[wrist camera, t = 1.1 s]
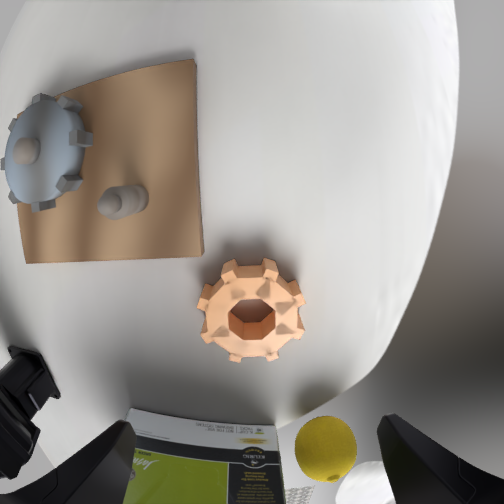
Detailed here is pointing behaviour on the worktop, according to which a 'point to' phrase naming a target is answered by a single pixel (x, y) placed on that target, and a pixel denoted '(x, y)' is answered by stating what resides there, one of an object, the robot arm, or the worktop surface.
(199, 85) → the worktop surface
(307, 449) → the lemon
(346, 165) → the worktop surface
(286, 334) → the gear
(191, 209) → the gear board
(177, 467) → the tea box
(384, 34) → the worktop surface
